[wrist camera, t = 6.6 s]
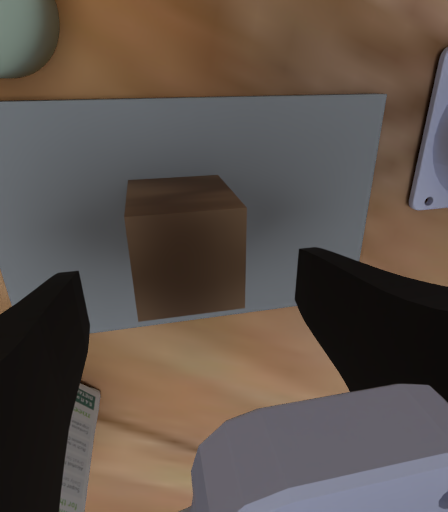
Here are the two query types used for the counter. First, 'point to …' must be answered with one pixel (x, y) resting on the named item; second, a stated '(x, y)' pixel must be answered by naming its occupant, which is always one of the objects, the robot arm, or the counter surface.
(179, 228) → the walnut block
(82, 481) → the syrup box
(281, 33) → the counter surface
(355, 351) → the robot arm
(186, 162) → the slate mat
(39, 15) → the sage cylinder
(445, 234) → the counter surface
